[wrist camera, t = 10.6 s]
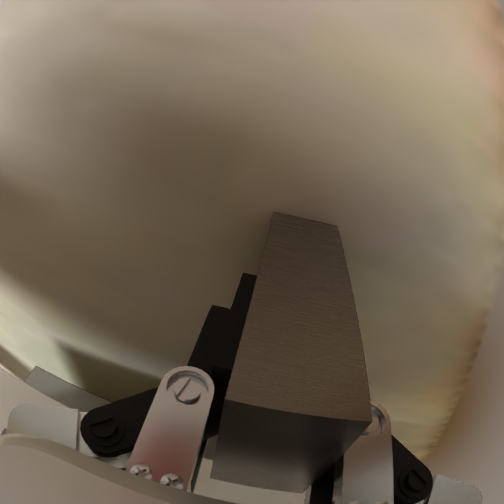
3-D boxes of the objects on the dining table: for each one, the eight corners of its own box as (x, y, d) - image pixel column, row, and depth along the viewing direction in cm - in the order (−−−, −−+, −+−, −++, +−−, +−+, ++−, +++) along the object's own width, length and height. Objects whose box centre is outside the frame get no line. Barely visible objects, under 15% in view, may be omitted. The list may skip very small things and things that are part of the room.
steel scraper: (273, 212, 11) (224, 399, 4) (337, 226, 11) (373, 421, 4) (223, 442, 20) (198, 535, 13) (254, 449, 20) (236, 543, 13)
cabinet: (3, 296, 18) (-83, 403, 8) (307, 394, 17) (282, 591, 7) (48, 388, 25) (-1, 473, 15) (266, 462, 24) (243, 576, 13)
